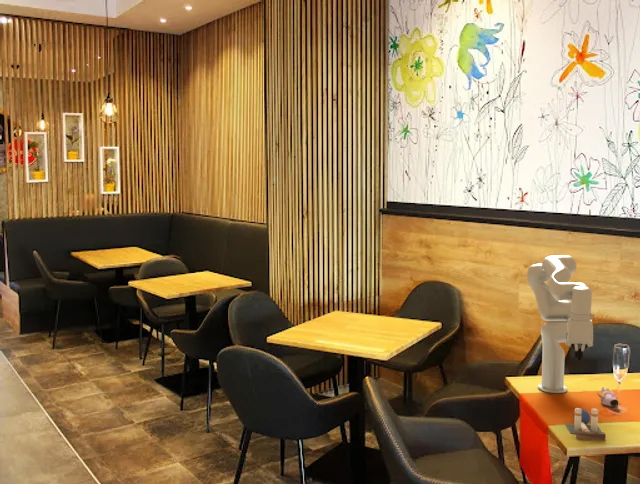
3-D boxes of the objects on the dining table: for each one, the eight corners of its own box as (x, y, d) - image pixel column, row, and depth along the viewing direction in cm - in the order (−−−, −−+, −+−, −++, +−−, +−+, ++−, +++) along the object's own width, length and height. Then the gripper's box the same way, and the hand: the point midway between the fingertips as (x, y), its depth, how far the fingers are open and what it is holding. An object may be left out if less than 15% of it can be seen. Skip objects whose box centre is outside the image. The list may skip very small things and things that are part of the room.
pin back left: (589, 430, 250) (590, 408, 249) (596, 431, 250) (597, 408, 249) (591, 433, 248) (592, 410, 247) (598, 433, 247) (599, 410, 246)
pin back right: (573, 430, 251) (574, 407, 250) (580, 430, 251) (580, 408, 250) (574, 432, 249) (575, 410, 248) (581, 433, 248) (582, 410, 247)
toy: (615, 386, 285) (628, 399, 270) (612, 399, 286) (625, 413, 271) (593, 383, 286) (605, 396, 271) (591, 396, 287) (602, 410, 272)
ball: (577, 417, 253) (573, 427, 256) (593, 419, 252) (589, 428, 256) (574, 405, 257) (571, 414, 261) (590, 406, 257) (586, 416, 260)
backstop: (575, 437, 244) (576, 431, 244) (603, 438, 243) (604, 432, 243) (577, 439, 242) (577, 433, 242) (605, 440, 241) (605, 434, 241)
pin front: (577, 423, 253) (583, 432, 244) (582, 420, 253) (589, 429, 244) (580, 429, 253) (586, 438, 244) (586, 426, 253) (592, 435, 244)
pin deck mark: (565, 424, 257) (565, 424, 257) (597, 425, 255) (597, 425, 255) (570, 433, 248) (570, 433, 248) (603, 434, 246) (603, 434, 246)
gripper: (597, 314, 269) (594, 357, 272) (559, 313, 271) (557, 355, 274) (602, 319, 262) (599, 363, 265) (563, 318, 264) (561, 361, 267)
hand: (578, 359), depth 269 cm, fingers closed
